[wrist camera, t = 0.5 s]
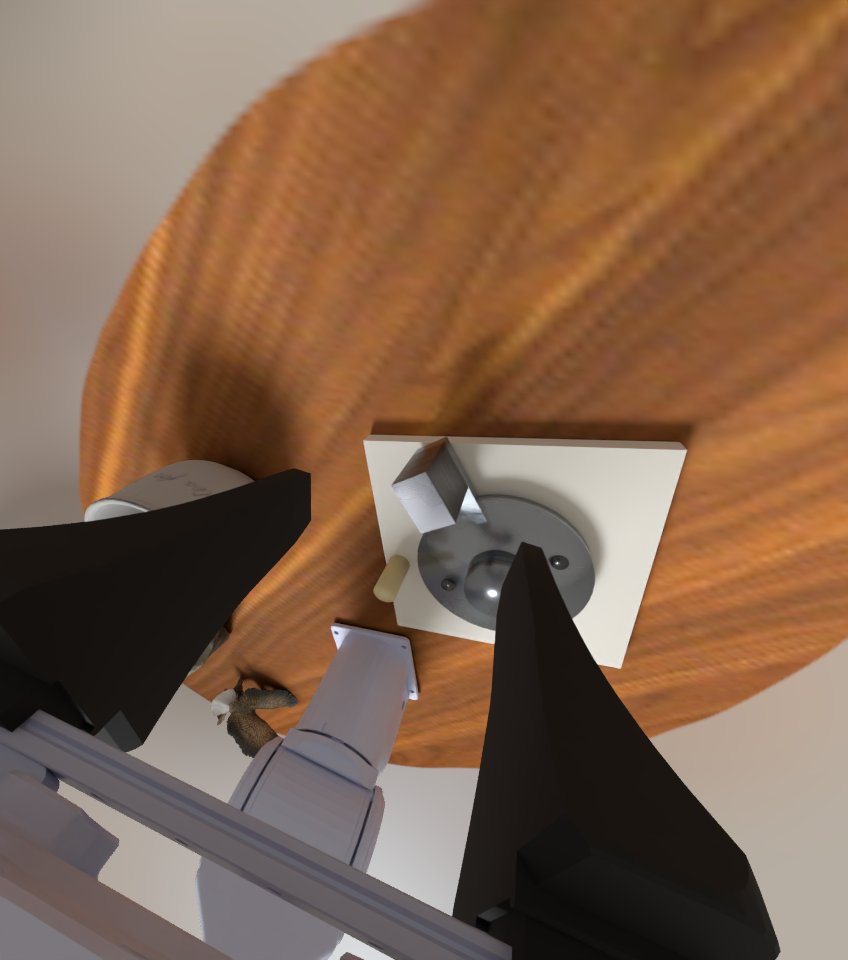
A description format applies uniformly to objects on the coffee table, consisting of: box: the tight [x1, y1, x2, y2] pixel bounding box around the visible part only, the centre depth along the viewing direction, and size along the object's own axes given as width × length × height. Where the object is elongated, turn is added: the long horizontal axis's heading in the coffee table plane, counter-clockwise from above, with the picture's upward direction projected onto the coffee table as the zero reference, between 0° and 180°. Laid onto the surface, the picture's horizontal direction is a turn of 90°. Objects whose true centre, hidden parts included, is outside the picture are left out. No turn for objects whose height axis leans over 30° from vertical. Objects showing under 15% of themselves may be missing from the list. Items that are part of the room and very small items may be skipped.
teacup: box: [85, 460, 254, 522], centre depth 26 cm, size 14×11×8 cm
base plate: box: [363, 435, 687, 669], centre depth 22 cm, size 17×17×4 cm
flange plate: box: [391, 436, 595, 631], centre depth 20 cm, size 15×11×4 cm
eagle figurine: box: [211, 679, 298, 758], centre depth 44 cm, size 8×7×9 cm
